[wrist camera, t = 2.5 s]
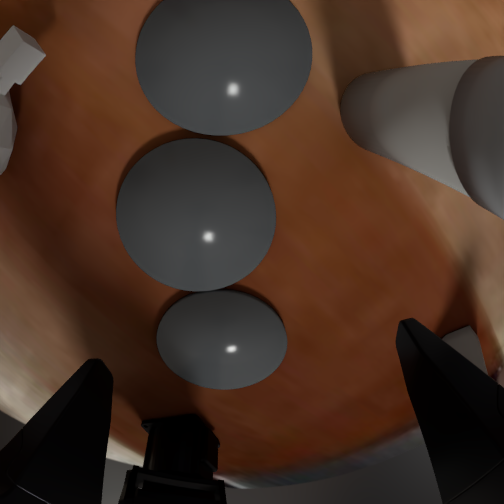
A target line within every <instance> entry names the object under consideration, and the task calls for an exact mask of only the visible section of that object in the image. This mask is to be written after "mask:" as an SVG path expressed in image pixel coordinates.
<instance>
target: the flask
mask: <svg viewBox="0 0 504 504" xmlns="http://www.w3.org/2000/svg"><path fill="white" fill-rule="evenodd" d="M442 340H444V341H445V342H446V343H447V344H449V345H450V346H451V347H453V348H454V349H455V350H457V351H458V352H459V353H460V354H462V355H463V356H464V357H466V358H467V359H468V360H469V361H471V362H472V363H473V364H475V365H476V366H477V367H478V368H480V369H481V370H482V371H483V372H485V373H486V374H487V370H486V366H485V362H484V358H483V354H482V350H481V346H480V342H479V339H478V336H477V335H476V334H475V332H474V331H473V329H472V328H471V327H470V325H469V326H467V327H464V328H462V329H459V330H457V331H454V332H452V333H449V334H447V335H446V336H445V337H444V338H443V339H442ZM487 375H488V374H487Z"/></svg>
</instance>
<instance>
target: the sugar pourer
mask: <svg viewBox="0 0 504 504" xmlns="http://www.w3.org/2000/svg"><path fill="white" fill-rule="evenodd" d="M340 112H341V119H342V123H343V126H344V128H345V130H346V132H347V134H348V135H349V137H350V138H351V139H352V140H353V141H354V142H355V143H356V144H357V145H358V146H360V147H361V148H363V149H365V150H368V151H370V152H373V153H375V154H378V155H380V156H383V157H385V158H387V159H390V160H392V161H395V162H397V163H399V164H402V165H404V166H406V167H408V168H411V169H413V170H415V171H417V172H420V173H422V174H424V175H426V176H428V177H430V178H432V179H435V180H437V181H439V182H441V183H443V184H445V185H447V186H449V187H451V188H453V189H455V190H457V191H459V192H461V193H463V194H465V195H467V196H468V197H470V198H471V199H472V200H473V201H474V202H476V203H477V204H478V205H479V206H481V207H483V208H484V209H486V210H488V211H490V212H491V213H493V214H495V215H497V216H498V217H500V218H502V219H503V220H504V56H489V57H484V58H481V59H479V60H464V61H451V62H440V63H431V64H423V65H415V66H408V67H401V68H394V69H388V70H382V71H377V72H371V73H367V74H363V75H361V76H359V77H357V78H356V79H354V80H353V81H352V82H351V83H350V84H349V85H348V87H347V88H346V90H345V92H344V94H343V97H342V100H341V109H340Z"/></svg>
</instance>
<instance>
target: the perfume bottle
mask: <svg viewBox="0 0 504 504" xmlns="http://www.w3.org/2000/svg"><path fill="white" fill-rule="evenodd" d="M45 56H46V54H45V53H44V51H43V50H42V48H41V47H40V46H39V44H38V43H37V41H36V40H35V39H34V38H33V37H31V36H30V35H28V34H27V33H25V32H24V31H22V30H20V29H19V28H17V27H16V26H14V25H13V26H12V27H11V28H10V29H9V30H8V32H7V33H6V34H5V35H4V36H3V38H2V39H1V40H0V175H1V174H2V173H3V172H4V171H5V170H6V167H7V164H8V161H9V158H10V155H11V153H12V150H13V145H14V141H15V136H16V132H17V128H18V127H17V123H16V119H15V115H14V111H13V107H12V102H11V98H10V93H9V90H10V88H11V87H12V86H13V84H14V83H17V84H19V85H21V84H22V83H23V82H24V80H25V79H26V78H27V77H28V76H29V74H30V73H31V72H32V71H33V70H34V68H35V67H36V66H37V65H38V64H39V63H40V62H41V60H42V59H43V58H44V57H45Z"/></svg>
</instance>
